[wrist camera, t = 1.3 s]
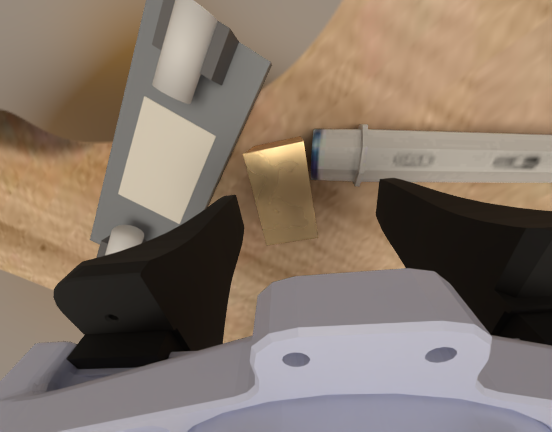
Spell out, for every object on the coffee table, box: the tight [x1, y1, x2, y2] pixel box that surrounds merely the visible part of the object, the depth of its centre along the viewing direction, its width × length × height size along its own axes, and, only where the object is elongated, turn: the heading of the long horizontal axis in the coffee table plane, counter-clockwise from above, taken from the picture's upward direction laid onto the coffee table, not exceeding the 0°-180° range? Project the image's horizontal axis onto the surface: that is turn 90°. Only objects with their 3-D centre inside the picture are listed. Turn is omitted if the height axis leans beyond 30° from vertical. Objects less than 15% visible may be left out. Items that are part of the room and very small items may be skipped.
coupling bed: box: [90, 0, 272, 258], centre depth 18 cm, size 22×9×5 cm, turn 151°
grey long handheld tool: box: [311, 124, 552, 186], centre depth 17 cm, size 5×7×25 cm
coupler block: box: [243, 136, 318, 246], centre depth 18 cm, size 7×4×5 cm, turn 12°
